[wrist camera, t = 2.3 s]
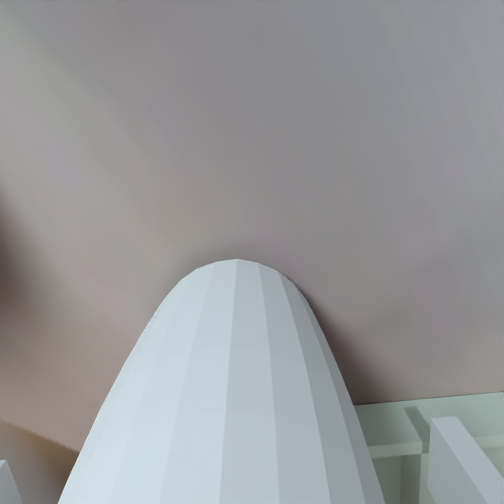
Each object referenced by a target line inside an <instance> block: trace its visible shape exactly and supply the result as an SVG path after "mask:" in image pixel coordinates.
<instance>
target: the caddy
mask: <svg viewBox="0 0 504 504" xmlns="http://www.w3.org/2000/svg"><path fill="white" fill-rule="evenodd" d="M354 409H355V411H356V414H357V417H358V420H359V423H360V426H361V429H362V432H363V435H364V438H365V441H366V444H367V448H368V451H369V454H370V457H371V460H372V463H373V466H374V469H375V472H376V475H377V478H378V481H379V484H380V487H381V491H382V494H383V498H384V501H385V504H436V503H435V501H434V499H433V497H432V495H431V493H430V491H429V489H428V487H427V484H428V465H429V446H430V426H431V418H440V417H450V416H456V417H457V418H458V419H459V421H460V422H461V423H462V424H463V426H464V427H465V428H466V430H467V431H468V432H469V434H470V435H471V436H472V438H473V439H474V440H475V442H476V443H477V444H478V446H479V447H480V448H481V449H482V451H483V452H484V453H485V455H486V456H487V457H488V459H489V460H490V461H491V463H492V464H493V465H494V467H495V468H496V469H497V471H498V472H499V473H500V474H501V476H502V477H503V478H504V392H498V393H487V394H476V395H465V396H454V397H443V398H432V399H421V400H410V401H399V402H388V403H377V404H366V405H355V406H354Z"/></svg>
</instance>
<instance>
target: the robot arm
mask: <svg viewBox="0 0 504 504" xmlns="http://www.w3.org/2000/svg"><path fill="white" fill-rule="evenodd" d="M427 487H428V489H429V491H430V493H431V495H432V497H433V499H434V501H435V503H436V504H504V478H503V477H502V476H501V474H500V473H499V472H498V471H497V469H496V468H495V467H494V465H493V464H492V463H491V461H490V460H489V459H488V457H487V456H486V455H485V453H484V452H483V451H482V449H481V448H480V447H479V446H478V444H477V443H476V442H475V440H474V439H473V438H472V436H471V435H470V434H469V432H468V431H467V430H466V428H465V427H464V426H463V424H462V423H461V422H460V421H459V419H458V418H457V417H456V416H450V417H440V418H431V426H430V446H429V465H428V484H427ZM0 504H23V503H22V500H21V498H20V495H19V492H18V490H17V487H16V485H15V482H14V479H13V476H12V474H11V471H10V469H9V466H8V463H7V461H6V460H0Z"/></svg>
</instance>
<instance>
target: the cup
mask: <svg viewBox="0 0 504 504" xmlns="http://www.w3.org/2000/svg"><path fill="white" fill-rule="evenodd" d="M58 504H385V501H384V498H383V494H382V491H381V487H380V484H379V481H378V478H377V475H376V472H375V469H374V466H373V463H372V460H371V457H370V454H369V451H368V448H367V444H366V441H365V438H364V435H363V432H362V429H361V426H360V423H359V420H358V417H357V414H356V411H355V409H354V406H353V403H352V401H351V398H350V396H349V393H348V391H347V388H346V386H345V383H344V381H343V378H342V376H341V373H340V371H339V368H338V366H337V363H336V361H335V359H334V356H333V354H332V352H331V350H330V347H329V345H328V343H327V340H326V338H325V336H324V334H323V332H322V330H321V328H320V326H319V323H318V321H317V319H316V317H315V315H314V313H313V311H312V309H311V308H310V306H309V304H308V302H307V300H306V299H305V297H304V296H303V295H302V293H301V292H300V291H299V290H298V289H297V287H296V286H295V285H294V284H293V283H292V282H291V281H290V280H288V279H287V278H286V277H285V276H283V275H282V274H281V273H279V272H278V271H277V270H274V269H272V268H269V267H267V266H265V265H262V264H260V263H256V262H251V261H246V260H241V259H233V260H226V261H218V262H214V263H212V264H209V265H206V266H203V267H200V268H198V269H196V270H194V271H193V272H192V273H190V274H189V275H187V276H186V277H184V278H183V279H182V280H180V281H179V282H178V284H177V285H176V286H175V287H174V288H173V289H172V290H171V291H170V293H169V294H168V295H167V296H166V298H165V299H164V300H163V302H162V303H161V305H160V306H159V307H158V309H157V311H156V312H155V314H154V315H153V317H152V318H151V320H150V322H149V323H148V325H147V326H146V328H145V329H144V331H143V333H142V334H141V336H140V338H139V339H138V341H137V343H136V345H135V346H134V348H133V350H132V352H131V353H130V355H129V357H128V359H127V360H126V362H125V364H124V366H123V367H122V369H121V371H120V373H119V375H118V377H117V379H116V381H115V382H114V384H113V386H112V388H111V390H110V392H109V394H108V396H107V397H106V399H105V401H104V403H103V405H102V407H101V409H100V411H99V413H98V415H97V417H96V420H95V422H94V424H93V426H92V428H91V430H90V433H89V435H88V437H87V439H86V441H85V443H84V446H83V448H82V450H81V452H80V454H79V457H78V459H77V461H76V463H75V465H74V467H73V470H72V472H71V474H70V476H69V478H68V480H67V483H66V485H65V488H64V490H63V493H62V495H61V498H60V500H59V502H58Z"/></svg>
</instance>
